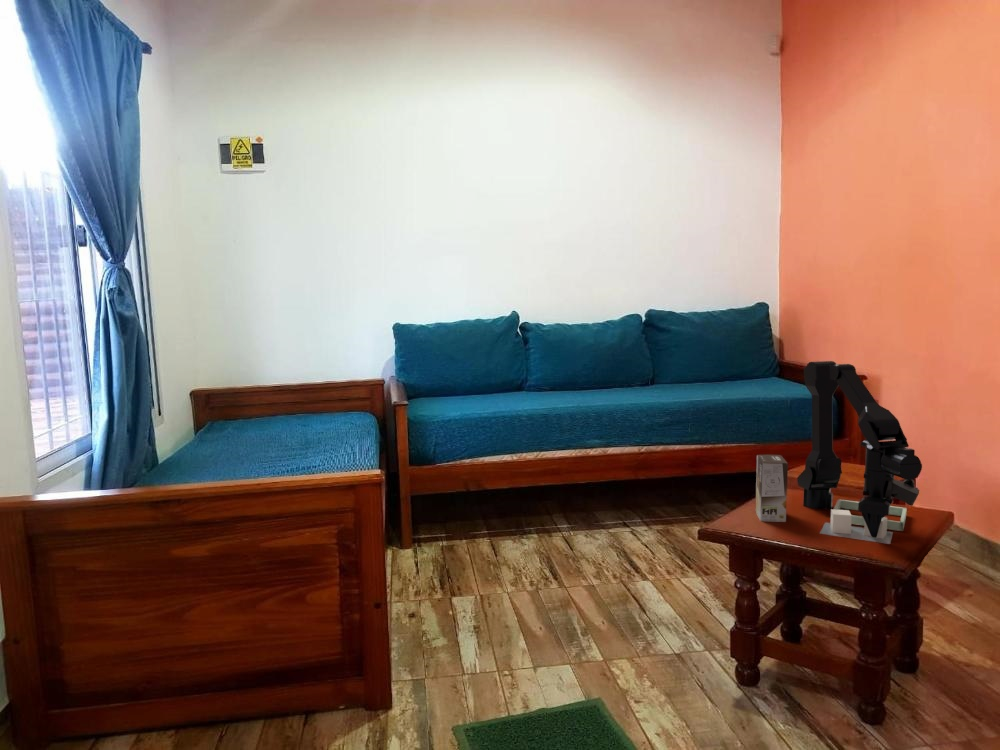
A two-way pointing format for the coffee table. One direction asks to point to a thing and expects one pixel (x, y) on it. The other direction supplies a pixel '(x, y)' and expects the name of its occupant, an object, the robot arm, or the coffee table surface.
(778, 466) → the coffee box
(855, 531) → the slate slab
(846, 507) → the green bin
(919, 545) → the coffee table surface
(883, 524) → the light grey cube
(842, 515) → the white cube
